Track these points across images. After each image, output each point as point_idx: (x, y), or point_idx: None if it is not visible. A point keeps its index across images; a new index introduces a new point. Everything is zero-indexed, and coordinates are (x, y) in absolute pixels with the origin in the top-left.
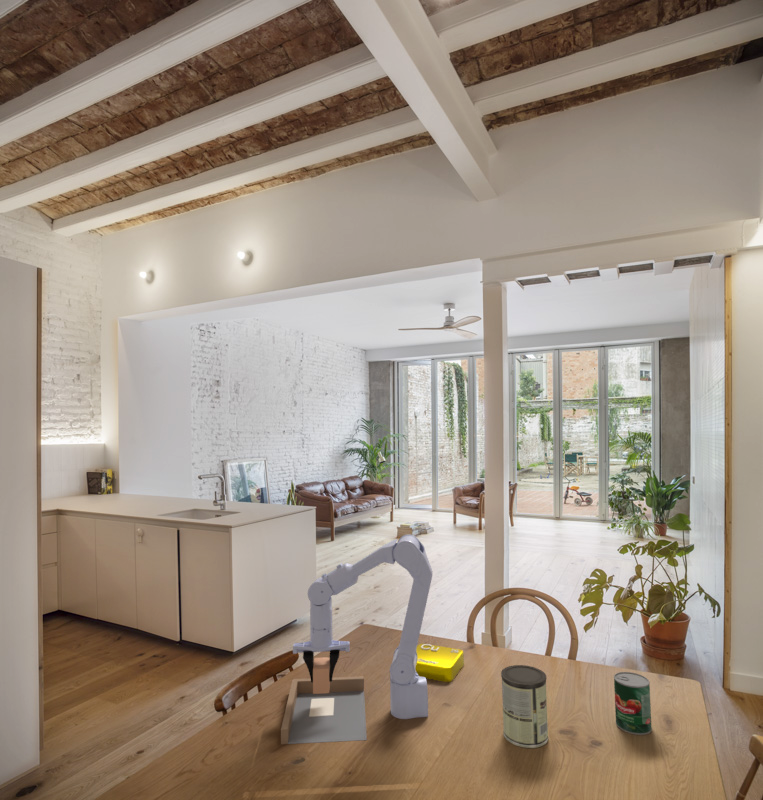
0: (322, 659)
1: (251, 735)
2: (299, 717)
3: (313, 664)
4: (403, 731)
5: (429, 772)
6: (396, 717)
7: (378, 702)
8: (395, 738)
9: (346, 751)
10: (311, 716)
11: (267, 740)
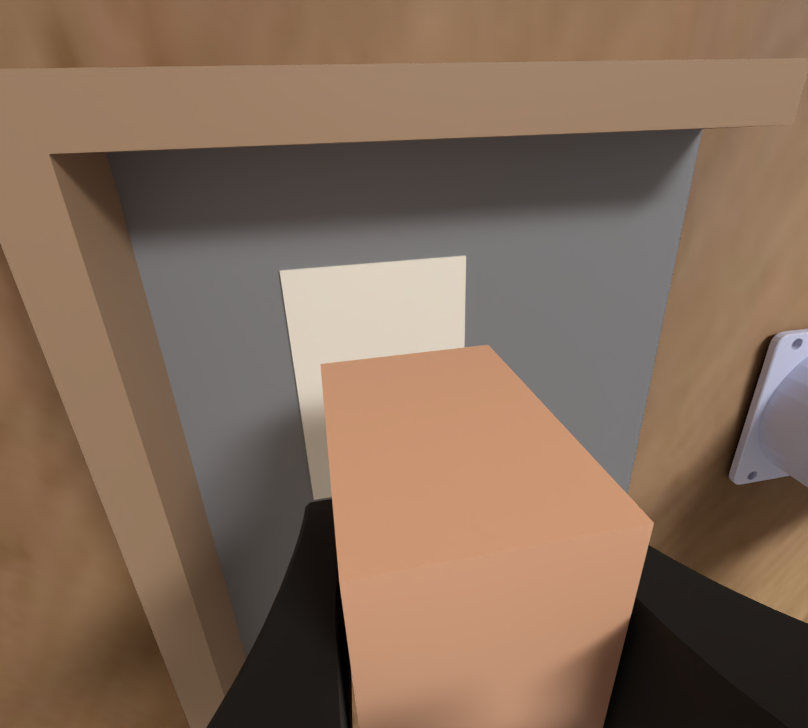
0: (508, 615)
1: (8, 643)
2: (252, 511)
3: (337, 640)
4: (751, 523)
5: None
6: (771, 461)
7: (738, 268)
8: (705, 567)
9: None
10: (329, 497)
11: (131, 660)
